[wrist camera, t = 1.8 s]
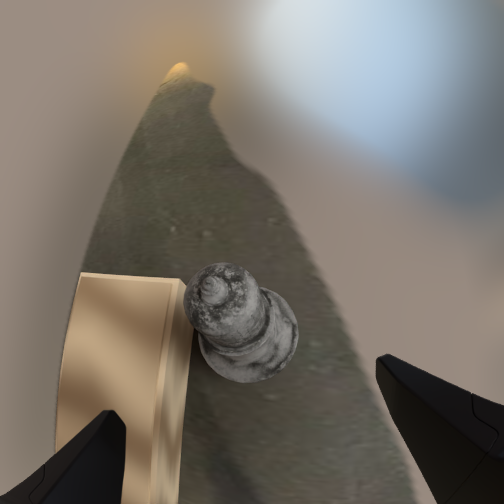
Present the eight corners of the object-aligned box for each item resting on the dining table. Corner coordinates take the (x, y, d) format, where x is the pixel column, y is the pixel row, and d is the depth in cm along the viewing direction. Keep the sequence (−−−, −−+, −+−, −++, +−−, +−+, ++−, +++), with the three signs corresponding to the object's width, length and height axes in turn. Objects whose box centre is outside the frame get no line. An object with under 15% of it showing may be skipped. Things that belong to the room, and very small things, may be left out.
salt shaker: (314, 346, 19) (346, 287, 8) (247, 400, 18) (186, 417, 7) (260, 286, 21) (227, 175, 11) (197, 336, 20) (101, 271, 9)
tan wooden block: (177, 535, 13) (154, 557, 9) (87, 500, 14) (57, 509, 10) (198, 298, 21) (178, 277, 18) (108, 290, 23) (79, 271, 19)
